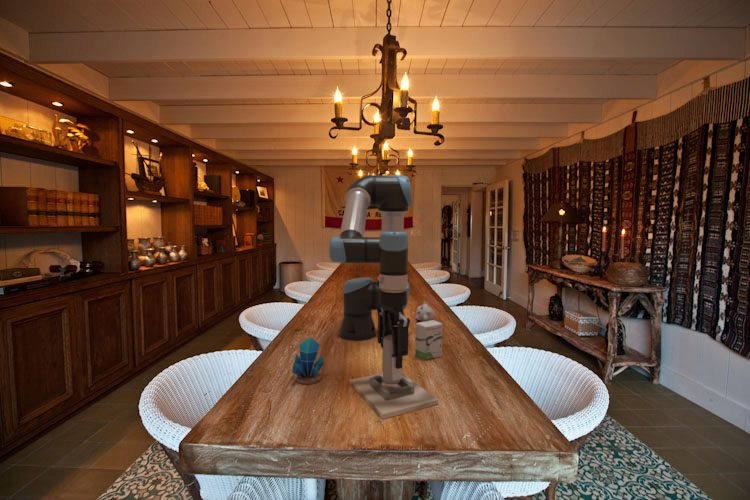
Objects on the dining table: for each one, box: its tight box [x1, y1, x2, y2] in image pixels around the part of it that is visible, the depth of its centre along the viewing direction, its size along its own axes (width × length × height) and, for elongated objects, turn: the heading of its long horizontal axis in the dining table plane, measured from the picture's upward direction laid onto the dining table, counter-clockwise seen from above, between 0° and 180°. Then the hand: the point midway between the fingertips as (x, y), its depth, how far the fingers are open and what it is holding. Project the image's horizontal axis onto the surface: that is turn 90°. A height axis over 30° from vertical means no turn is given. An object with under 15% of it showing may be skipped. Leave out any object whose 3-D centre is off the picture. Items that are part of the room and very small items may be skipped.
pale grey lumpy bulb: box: [415, 300, 436, 322], centre depth 165 cm, size 10×8×15 cm
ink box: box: [414, 319, 444, 361], centre depth 121 cm, size 9×5×12 cm, turn 124°
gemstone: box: [291, 336, 325, 386], centre depth 102 cm, size 7×9×12 cm
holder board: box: [349, 372, 439, 420], centre depth 94 cm, size 20×16×3 cm
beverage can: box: [382, 335, 400, 385], centre depth 94 cm, size 5×5×12 cm
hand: (391, 374), depth 94 cm, fingers closed on beverage can, 5 cm apart
